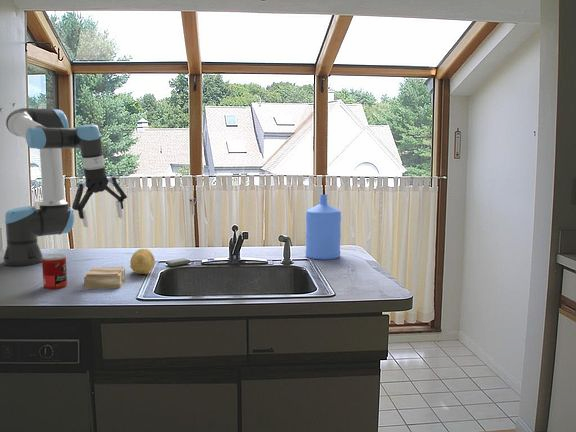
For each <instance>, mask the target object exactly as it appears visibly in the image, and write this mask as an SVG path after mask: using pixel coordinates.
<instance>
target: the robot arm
mask: <svg viewBox="0 0 576 432" xmlns="http://www.w3.org/2000/svg"><path fill="white" fill-rule="evenodd" d="M5 125H6V129H7V130H8V132H9V133H11V135H14V136H16V137H22V138H24V139H25V142H26V144H27V147H28V148H29V149H37V150H39V159H40V173H41V175H40V176H41V191H42V201H41V202H40V204H39V208H36V207H35V206H34V205H33V206H32V205H27V206H20V207H14V208H11V209H9V210H7V211H6V212H5V215H4V217H5V218H4V220H5V221H4V223H5V233H6V235H5V236H6V248H5V251H4V255H3V257H2V258H3V259H2V261H3V265H4V266H9V267H10V266H11V267H21V266H23V265H24V266H31V265H35V264H36V265H37V264H39V263H42V257H43V256H44V255H43V253H42V251H41V249H40V246H39V243H38V237H45V236H55V235H64V234H68V233H70V232H71V230H72V229H73V227H74V223H75V214H74V213H75V212H74V211H77V212H78V213H77V214H78V217H79V219H81V221H82V225H83V227H85V228H89V224H88V219H87V212H86V209H85V206H86V205H87V203H88V201H89V200H90V197H91V196H92V195H93V194H94V193H95V194H96V193H99V192H104V191H106V192H107V193H109V195H111V196H112V197H113V198H115V199H116V200H115V205H116V213H117V217H118V218H119V219H123V218H124V216H123V210H124V200H125V199H127V198H128V196H127V194H126V193H125V192H124V190H123V189H122V187H121V186H120V185H119V183H118V182H117V179H116V177H115V176H113V175H111V176H109V177H107V170H106V167H105V158H104V152H103V145H102V140H101V132H100V129H99V126H98V124H90V123H88V124H82V125H78V126H77V127H76V126H74V127H70V126H69V121H68V118H67V115H66V114H65V112H64V111H63V110H61V109H55V108H33V107H32V108H30V107H24V108H23V107H21V108H17V109H16V110H15V109H14V110H13V111H11V112H10V113H9V114H8V115H7V117H6V120H5ZM62 149H78V150H80V156H81V161H82V168H84V169H83V173H84V179H85V182H84V183H82V182H81V183H80V182H77V184H76V187H77V190H76V194H75V197H74V200H73V203H72V206H69V202H67V200H66V199H65V189H64V175H63V173H64V172H63V157H62ZM109 183H111V184H112V186H113V187H114V189H115V190H116V192H115V191H114V190H113V189H111V188H110V187H109V186H108V184H109ZM85 188H87V189H86V191H85V192H84V190H85ZM83 192H84V193H85V194H84V195H83ZM117 193H118V194H117ZM82 196H83V197H82ZM81 198H82V199H81Z"/></svg>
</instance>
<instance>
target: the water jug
mask: <svg viewBox="0 0 576 432" xmlns="http://www.w3.org/2000/svg"><path fill="white" fill-rule="evenodd" d="M319 197H320V199H319V200H320V202H319V204H317V205H314V206H313V207H311V208H309V209H307V210H306V214H305V221H306V222H305V224H306V225H305V227H306V228H305V256H306V257H307V258H309V259H312V260H319V261H320V260H322V261H323V260H324V261H325V260H329V261H330V260H335V259H338V258H339V257H340V256H341V234H342V233H341V219H342V215H341V214H342V213H341V210H340V209H338V208H335V207H334V206H332V205H330V204H329V203H328V194H319Z"/></svg>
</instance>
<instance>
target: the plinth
mask: <svg viewBox="0 0 576 432" xmlns="http://www.w3.org/2000/svg"><path fill="white" fill-rule="evenodd" d="M125 280H126V268H125V267H123V266H108V267H107V266H106V267H98V266H97V267H91V269H90V270H89V271H88V272H87V273H86V274H85V275H84V276H83V283H84V285H83V286H84V290H93V289H94V290H97V289H102V290H103V289H121V287H122V285H123V284H124V283H125Z"/></svg>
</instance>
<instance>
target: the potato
mask: <svg viewBox="0 0 576 432" xmlns="http://www.w3.org/2000/svg"><path fill="white" fill-rule="evenodd" d="M129 264H130V269H131V270H132V272H133V273H136V274H138V275H144V274H145V275H147V274H149V273H150V272H151V271H153V269H154V268H155V264H156V259H155V256H154V254H153V252H152V251H151V249H148V248H140V249H138V250H135V252H134V253H133V254H132V256H131V258H130V263H129Z"/></svg>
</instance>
